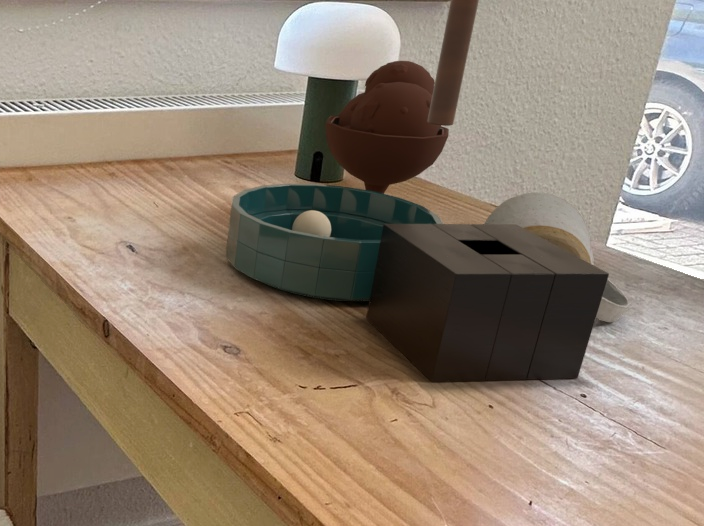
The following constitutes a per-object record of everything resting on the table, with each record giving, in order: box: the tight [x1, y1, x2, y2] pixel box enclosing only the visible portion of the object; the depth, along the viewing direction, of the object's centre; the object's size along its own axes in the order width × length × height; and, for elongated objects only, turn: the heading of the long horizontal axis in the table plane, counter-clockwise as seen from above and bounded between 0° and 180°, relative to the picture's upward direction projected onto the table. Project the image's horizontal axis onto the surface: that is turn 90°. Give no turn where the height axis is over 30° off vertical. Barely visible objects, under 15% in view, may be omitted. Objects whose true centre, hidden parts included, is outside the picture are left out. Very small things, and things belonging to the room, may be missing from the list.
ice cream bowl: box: [325, 60, 450, 194], centre depth 80 cm, size 11×11×15 cm
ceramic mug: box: [484, 192, 630, 323], centre depth 65 cm, size 11×8×8 cm
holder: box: [365, 223, 610, 383], centre depth 57 cm, size 10×10×7 cm
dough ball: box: [292, 210, 331, 237], centre depth 74 cm, size 3×3×3 cm
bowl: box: [225, 183, 444, 302], centre depth 70 cm, size 16×16×5 cm
